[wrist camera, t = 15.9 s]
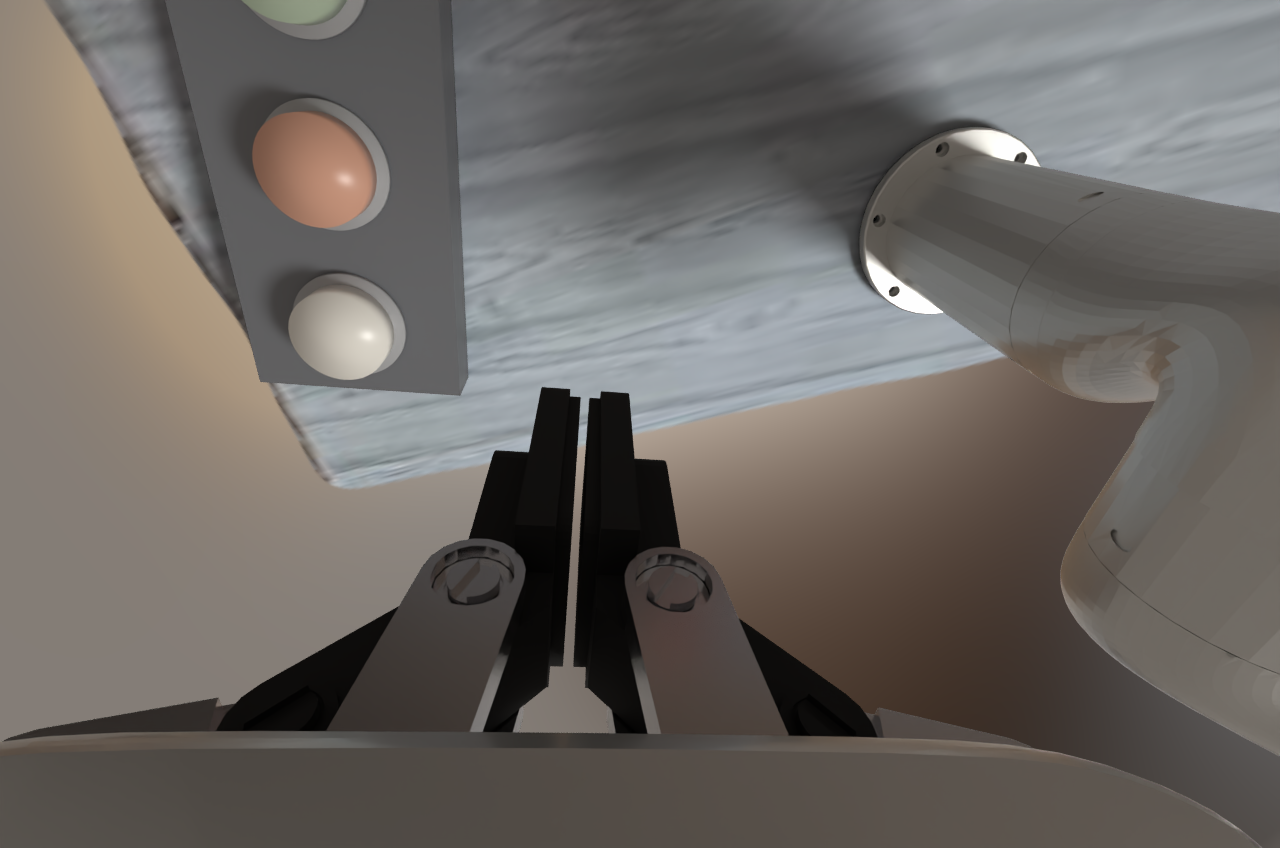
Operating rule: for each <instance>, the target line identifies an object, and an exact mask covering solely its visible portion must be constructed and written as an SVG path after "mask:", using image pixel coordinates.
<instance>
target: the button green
mask: <svg viewBox="0 0 1280 848" xmlns="http://www.w3.org/2000/svg"><path fill="white" fill-rule="evenodd" d="M242 1H243V2H244V3H245V4H246V5H248V6H249V7H250V8H251V9H253V10H255V11H256V12H258V13H259V14H261V15H263V16H265V17H267V18H270V19H273V20H276V21H280V22H285V23H291V24H297V25H307V26H310V25H318V24H321V23H324V22H326V21H328V20H330V19H332V18H333V17H335V16H336V15H337V14H338V13H339V12H340V11H341V9H342V8H343V7H344V5H345V3H346V1H347V0H242Z"/></svg>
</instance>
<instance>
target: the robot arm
mask: <svg viewBox="0 0 1280 848" xmlns="http://www.w3.org/2000/svg"><path fill="white" fill-rule="evenodd" d="M938 145H939V149H938V151H936V148H937V146H938ZM1014 158H1015V159H1014ZM875 216H877V219H876V220H875V221H874V222H873V219H874V217H875ZM859 250H860V259H861V263H862V267H863V271H864V273H865V275H866V277H867V279H868V281H869V283H870V284H871V285H872V287H873V288H874V289H875V290H876V292H877V293H878V294H879V295H880V296H882V297H883V298H884V299H885V300H886V301H888V302H889V303H891V304H893V305H895V306H896V307H898V308H900V309H903V310H906V311H909V312H912V313H919V314H938V313H945V314H946V315H948V316H949V317H951V318H952V319H954V320H955V321H957V322H958V323H959V324H961V325H962V326H964V327H965V328H967V329H968V330H969V331H971V332H972V333H974V334H975V335H977V336H978V337H980V338H981V339H982V340H984V341H985V342H987V343H988V344H990V345H991V346H993V347H994V348H995V349H997V350H998V351H1000V352H1001V353H1003V354H1004V355H1005V356H1007V357H1008V358H1010V359H1011V360H1013V361H1014V362H1016V363H1017V364H1018V365H1020V366H1022V367H1023V368H1024V369H1026V370H1027V371H1029V372H1030V373H1032V374H1034V375H1035V376H1036V377H1038V378H1039V379H1041V380H1042V381H1044V382H1045V383H1047V384H1048V385H1050V386H1052V387H1054V388H1056V389H1057V390H1059V391H1062V392H1064V393H1067V394H1069V395H1072V396H1075V397H1078V398H1083V399H1087V400H1093V401H1099V402H1110V403H1127V402H1128V403H1129V402H1145V401H1155V403H1154V405H1153V407H1152V408H1151V410H1150V412H1149V414H1148V415H1147V417H1146V419H1145V420H1144V422H1143V424H1142V426H1141V427H1140V429H1139V430H1138V432H1137V434H1136V436H1135V440H1134V442H1133V443H1132V445H1131V446H1130V448H1129V449H1128V451H1127V452H1126V454H1125V455H1124V457H1123V458H1122V460H1121V462H1120V463H1119V465H1118V466H1117V468H1116V469H1115V471H1114V473H1113V474H1112V475H1111V477H1110V479H1109V480H1108V482H1107V483H1106V485H1105V486H1104V488H1103V489H1102V491H1101V493H1100V494H1099V496H1098V497H1097V499H1096V500H1095V502H1094V503H1093V505H1092V506H1091V508H1090V510H1089V511H1088V513H1087V514H1086V516H1085V519H1084V520H1083V522H1082V523H1081V525H1080V526H1079V528H1078V530H1077V531H1076V533H1075V535H1074V537H1073V539H1072V540H1071V543H1070V544H1069V546H1068V548H1067V550H1066V553H1065V555H1064V558H1063V562H1062V567H1061V588H1062V592H1063V595H1064V599H1065V601H1066V604H1067V606H1068V608H1069V609H1070V611H1071V613H1072V614H1073V616H1074V617H1075V619H1076V620H1077V622H1078V623H1079V624H1080V625H1081V627H1082V628H1083V629H1084V630H1085V631H1086V632H1087V633H1088V635H1089V636H1090V637H1091V638H1092V639H1093V640H1094V641H1095V642H1096V643H1098V645H1099V646H1101V647H1102V648H1103V649H1104V650H1105V651H1106V652H1107V653H1108V654H1110V655H1111V656H1112V657H1113V658H1115V659H1116V660H1117V661H1118V662H1120V663H1121V664H1122V665H1124V666H1125V667H1126V668H1128V669H1129V670H1131V671H1132V672H1133V673H1135V674H1136V675H1138V676H1140V677H1141V678H1142V679H1144V680H1145V681H1147V682H1148V683H1150V684H1151V685H1153V686H1154V687H1156V688H1158V689H1159V690H1161V691H1162V692H1164V693H1166V694H1167V695H1169V696H1171V697H1172V698H1174V699H1176V700H1178V701H1179V702H1181V703H1183V704H1184V705H1186V706H1188V707H1190V708H1191V709H1193V710H1195V711H1196V712H1198V713H1200V714H1202V715H1204V716H1206V717H1208V718H1209V719H1211V720H1213V721H1215V722H1217V723H1218V724H1220V725H1222V726H1224V727H1226V728H1228V729H1229V730H1231V731H1233V732H1235V733H1237V734H1238V735H1240V736H1242V737H1244V738H1246V739H1248V740H1250V741H1251V742H1253V743H1255V744H1257V745H1259V746H1261V747H1263V748H1265V749H1267V750H1269V751H1270V752H1272V753H1274V754H1276V755H1278V756H1280V213H1277V212H1270V211H1264V210H1258V209H1251V208H1245V207H1239V206H1233V205H1227V204H1221V203H1215V202H1210V201H1205V200H1200V199H1195V198H1190V197H1185V196H1180V195H1175V194H1170V193H1164V192H1159V191H1154V190H1150V189H1145V188H1140V187H1135V186H1130V185H1126V184H1121V183H1116V182H1111V181H1106V180H1102V179H1097V178H1092V177H1087V176H1082V175H1078V174H1073V173H1068V172H1063V171H1058V170H1054V169H1049V168H1044V167H1041V165H1040V163H1039V162H1038V160H1037V158H1036V156H1035V155H1034V153H1033V151H1032V150H1031V149H1030V148H1029V147H1028V146H1027V145H1026V144H1025V143H1024V142H1023V141H1022V140H1020V139H1018V138H1017V137H1015V136H1013V135H1011V134H1009V133H1007V132H1004V131H1000V130H996V129H992V128H984V127H966V128H956V129H953V130H950V131H946V132H943V133H940V134H937V135H935V136H933V137H931V138H929V139H927V140H925V141H923V142H922V143H920V144H918V145H917V146H916V147H914V148H913V149H912V150H910V151H909V152H908V153H906V154H905V155H904V156H903V157H902V158H901V159H900V160H899V161H898V162H897V163H896V164H895V165H894V166H893V167H892V168H890V169H889V171H888V172H887V173H886V175H885V176H884V178H883V179H882V180H881V182H880V183H879V184H878V186H877V187H876V189H875V191H874V193H873V195H872V197H871V199H870V201H869V202H868V205H867V208H866V211H865V214H864V217H863V220H862V224H861V230H860V237H859ZM891 287H892V288H891ZM890 288H891V289H890ZM889 289H890V290H889ZM580 399H581V397H570V389H561V388H546V387H542V388H541V393H540V398H539V403H538V408H537V414H536V419H535V424H534V429H533V434H532V439H531V444H530V449H529V452H514V451H497V450H496V451H495V452H494V454H493V457H492V460H491V464H490V467H489V470H488V474H487V478H486V481H485V484H484V488H483V491H482V495H481V498H480V502H479V505H478V509H477V512H476V515H475V519H474V522H473V526H472V529H471V533H470V536H469V539H468V540H463V541H458V542H455V543H453V544H450V545H447V546H445V547H443V548H442V549H440V550H439V551H437V552H436V553H435V554H433V555H431V557H430V558H429V559H428V560H427V561H426V563H425V564H424V565H423V567H422V568H421V570H420V571H419V573H418V575H417V576H416V578H415V580H414V582H413V583H412V585H411V587H410V588H409V590H408V592H407V594H406V595H405V597H404V599H403V600H402V602H401V604H400V606H398V607H397V608H395V609H393V610H391V611H390V612H388V613H386V614H384V615H382V616H381V617H379V618H377V619H375V620H374V621H372V622H370V623H368V624H366V625H365V626H363V627H361V628H359V629H357V630H356V631H354V632H352V633H350V634H349V635H347V636H345V637H343V638H342V639H340V640H338V641H336V642H334V643H333V644H331V645H329V646H327V647H326V648H324V649H322V650H320V651H318V652H317V653H315V654H313V655H311V656H310V657H308V658H306V659H304V660H302V661H301V662H299V663H297V664H295V665H294V666H292V667H290V668H288V669H286V670H285V671H283V672H281V673H279V674H277V675H276V676H274V677H272V678H270V679H269V680H267V681H265V682H263V683H262V684H260V685H259V686H257V687H256V688H254V689H253V690H251V691H250V692H248V693H247V694H246V695H244V696H243V697H241V698H240V700H239V701H238V702H237V703H235V704H230V705H224V706H222V705H221V703H220V700H219V698H213V699H207V700H202V701H196V702H191V703H184V704H179V705H173V706H168V707H162V708H156V709H150V710H145V711H139V712H134V713H128V714H122V715H116V716H111V717H105V718H99V719H93V720H87V721H82V722H76V723H70V724H65V725H59V726H53V727H47V728H42V729H37V730H33V731H30V732H27V733H23V734H20V735H17V736H14V737H10V738H8V739H6V740H4V741H2V742H0V848H1262V847H1261V846H1260V845H1259V844H1257V843H1256V842H1255V841H1254V840H1253V839H1251V838H1250V837H1249V836H1248V835H1247V834H1245V833H1244V832H1243V831H1242V830H1240V829H1239V828H1238V827H1236V826H1235V825H1233V824H1231V823H1230V822H1229V821H1227V820H1226V819H1224V818H1223V817H1221V816H1220V815H1218V814H1217V813H1215V812H1214V811H1212V810H1210V809H1208V808H1207V807H1205V806H1203V805H1200V804H1199V803H1197V802H1195V801H1193V800H1191V799H1189V798H1187V797H1185V796H1184V795H1181V794H1179V793H1177V792H1175V791H1172V790H1170V789H1168V788H1166V787H1164V786H1162V785H1159V784H1157V783H1154V782H1151V781H1149V780H1146V779H1143V778H1140V777H1138V776H1135V775H1132V774H1129V773H1127V772H1123V771H1120V770H1118V769H1116V768H1113V767H1110V766H1107V765H1104V764H1100V763H1096V762H1092V761H1088V760H1085V759H1081V758H1077V757H1073V756H1069V755H1065V754H1061V753H1057V752H1051V751H1045V750H1038V749H1033V748H1032V747H1030V746H1028V745H1025V744H1023V743H1020V742H1018V741H1015V740H1012V739H1010V738H1005V737H1001V736H997V735H993V734H988V733H984V732H980V731H976V730H971V729H967V728H963V727H959V726H954V725H950V724H946V723H941V722H937V721H933V720H929V719H924V718H920V717H916V716H911V715H907V714H903V713H899V712H894V711H890V710H886V709H882V708H878V709H877V711H876V713H875V715H872V714H868V713H864V711H863V710H862V709H861V707H860V706H859V705H858V704H856V703H855V702H854V701H853V700H852V699H851V698H850V697H849V696H847V695H846V694H845V693H844V692H842V691H841V690H839V689H838V688H837V687H835V686H834V685H832V684H831V683H830V682H828V681H827V680H825V679H824V678H822V677H821V676H820V675H818V674H817V673H815V672H814V671H812V670H811V669H810V668H808V667H807V666H805V665H804V664H802V663H801V662H800V661H798V660H797V659H796V658H794V657H793V656H791V655H790V654H789V653H787V652H786V651H784V650H783V649H781V648H780V647H779V646H777V645H776V644H774V643H773V642H772V641H770V640H769V639H767V638H766V637H765V636H763V635H762V634H760V633H759V632H757V631H756V630H755V629H753V628H752V627H750V626H749V625H747V624H746V623H745V622H743V621H742V620H740V619H739V618H738V616H737V614H736V612H735V610H734V607H733V605H732V602H731V600H730V598H729V595H728V593H727V591H726V588H725V586H724V584H723V581H722V579H721V577H720V576H719V574H718V572H717V571H716V569H715V568H714V566H712V565H711V564H710V563H709V562H708V561H707V560H705V559H704V558H703V557H701V556H699V555H697V554H695V553H693V552H691V551H688V550H684V549H681V548H680V541H679V535H678V530H677V523H676V517H675V511H674V506H673V499H672V493H671V487H670V482H669V475H668V469H667V465H666V462H665V461H664V460H649V459H634V448H633V435H632V423H631V411H630V399H629V393H617V392H603V391H601V395H600V399H598V398H590V399H589V412H588V426H587V439H586V454H585V466H584V480H583V493H582V508H581V523H580V542H579V562H578V583H577V584H578V585H577V603H576V624H575V645H574V667H586V681H585V688H589V689H590V690H591V691H592V692H593V693H594V694H595V695H596V696H597V697H598V698H599V699H601V700H602V701H603V702H604V703H605V704H606V705H607V725H608V731H609V733H519V731H520V727H521V724H522V720H523V712H524V705H525V704H526V703H527V702H528V701H530V700H531V699H532V698H533V697H535V696H536V695H537V694H538V693H540V692H541V691H542V690H543V689H545V688H546V687H548V684H549V672H550V666H563V655H564V641H565V625H566V610H567V596H568V581H569V567H570V552H571V536H572V522H573V507H574V491H575V476H576V461H577V445H578V430H579V415H580Z"/></svg>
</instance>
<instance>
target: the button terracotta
mask: <svg viewBox="0 0 1280 848" xmlns="http://www.w3.org/2000/svg"><path fill="white" fill-rule="evenodd" d="M252 160H253V166H254V170H255V174H256V177H257V179H258V182H259V184H260V185H261V187H262V189H263V191H264V192H265V194H266V195H267V197H268V198H269V199H270V200H271V201H272V203H273V204H274V205H275V206H276V207H277V208H278V209H280V210H281V211H282V212H283V213H284V214H286V215H287V216H289V217H290V218H292V219H294V220H296V221H298V222H300V223H303V224H305V225H308V226H312V227H318V228H331V227H336V226H340V225H342V224H345V223H346V222H348V221H350V220H352V219H353V218H355V217H357V216H358V215H360V214H362V213H363V212H364V211H365V210H366V209H367V208H368V206H369V205H370V204H371V202H372V200H373V198H374V195H375V191H376V185H377V174H376V168H375V164H374V161H373V158H372V156H371V154H370V152H369V150H368V148H367V146H366V145H365V143H364V142H363V140H362V139H361V138H360V137H359V135H358V134H357V133H356V132H355V131H354V130H353V129H352V128H351V127H349V126H348V125H347V124H345V123H344V122H343V121H341V120H339V119H338V118H336V117H333V116H331V115H329V114H326V113H323V112H318V111H298V112H290V113H284V114H280V115H277V116H275V117H273V118H271V119H270V120H268V121H267V122H266V123H265V124H264V125H263V126H262V127H261V128H260V130H259V131H258V133H257V135H256V137H255V140H254V144H253V150H252Z"/></svg>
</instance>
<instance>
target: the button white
mask: <svg viewBox="0 0 1280 848" xmlns="http://www.w3.org/2000/svg"><path fill="white" fill-rule="evenodd" d="M288 330H289V336H290V339H291V342H292V344H293V347H294V348H295V350H296V352H297V353H298V354H299V356H300V357H301V358H302V359H303V360H304V361H305V362H306V363H307V364H308V365H309V366H311V367H312V368H314V369H315V370H317V371H318V372H320V373H322V374H324V375H327V376H329V377H332V378H337V379H343V380H354V379H360V378H363V377H366V376H368V375H370V374H372V373H373V372H374V371H376V370H377V369H378V368H379V366H380V365H381V364H382V363H383V361H384V360H385V359H386V357H387V356H388V355H389V353H390V352H391V350H392V347H393V344H394V338H395V336H394V327H393V324H392V321H391V319H390V317H389V315H388V313H387V311H386V310H385V309H384V307H383V306H382V305H381V304H380V303H379V302H378V301H377V300H376V299H375V298H373V297H372V296H371V295H369V294H368V293H366V292H364V291H362V290H360V289H357V288H355V287H351V286H347V285H328V286H324V287H321V288H319V289H317V290H315V291H314V292H312V293H311V294H310V295H308V296H307V297H306V298H304V299H303V300H302V301H300V302H299V303H298V304H297V305H296V306H295V308H294V309H293V311H292V312H291V315H290V318H289V323H288Z"/></svg>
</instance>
